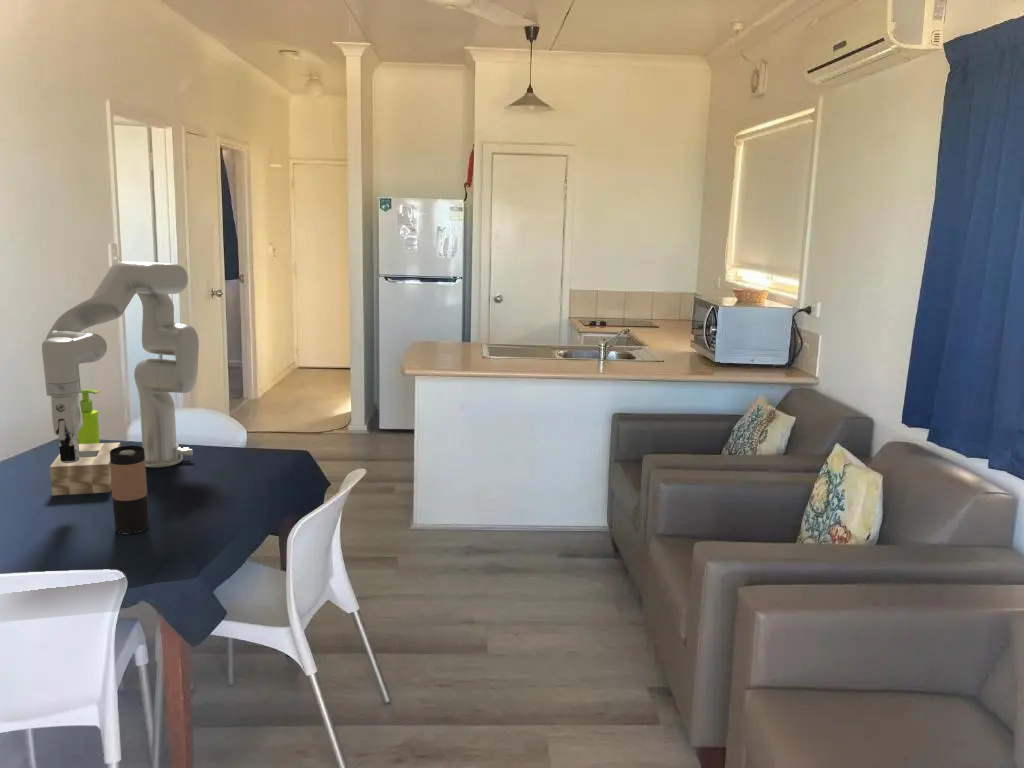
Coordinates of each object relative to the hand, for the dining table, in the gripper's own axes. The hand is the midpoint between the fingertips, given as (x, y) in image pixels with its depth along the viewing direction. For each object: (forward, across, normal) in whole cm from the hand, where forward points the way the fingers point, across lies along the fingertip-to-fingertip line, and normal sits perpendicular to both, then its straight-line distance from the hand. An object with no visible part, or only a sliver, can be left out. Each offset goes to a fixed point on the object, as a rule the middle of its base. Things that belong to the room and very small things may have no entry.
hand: (70, 456), depth 205 cm
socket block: (+14, +20, 0) cm, 25 cm away
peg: (+1, 0, 0) cm, 1 cm away
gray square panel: (+7, +20, 0) cm, 22 cm away
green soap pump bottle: (+15, +47, +4) cm, 50 cm away
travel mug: (+14, -17, -16) cm, 27 cm away
